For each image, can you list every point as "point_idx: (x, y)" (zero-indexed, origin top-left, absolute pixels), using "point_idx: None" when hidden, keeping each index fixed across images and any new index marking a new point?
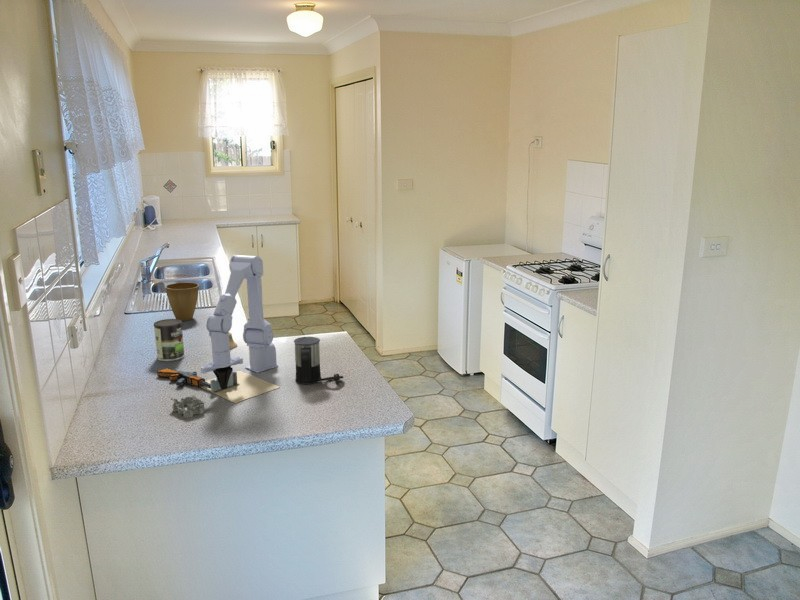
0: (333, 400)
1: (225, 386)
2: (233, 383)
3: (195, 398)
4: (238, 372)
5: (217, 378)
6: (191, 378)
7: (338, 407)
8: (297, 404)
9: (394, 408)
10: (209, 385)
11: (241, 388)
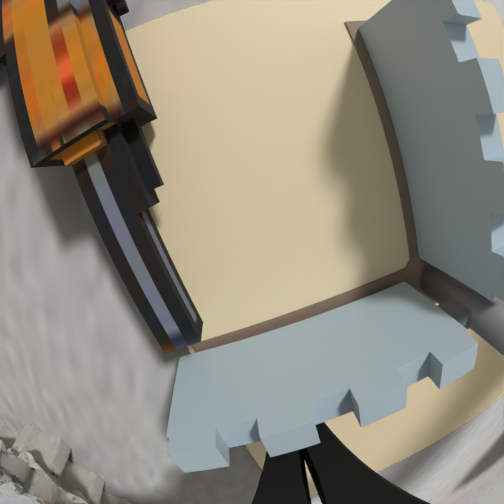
0: (492, 469)
1: (304, 458)
2: (427, 256)
3: (74, 493)
4: (491, 27)
5: (258, 495)
6: (5, 54)
7: (467, 493)
8: (437, 495)
9: (499, 483)
10: (164, 349)
11: None
